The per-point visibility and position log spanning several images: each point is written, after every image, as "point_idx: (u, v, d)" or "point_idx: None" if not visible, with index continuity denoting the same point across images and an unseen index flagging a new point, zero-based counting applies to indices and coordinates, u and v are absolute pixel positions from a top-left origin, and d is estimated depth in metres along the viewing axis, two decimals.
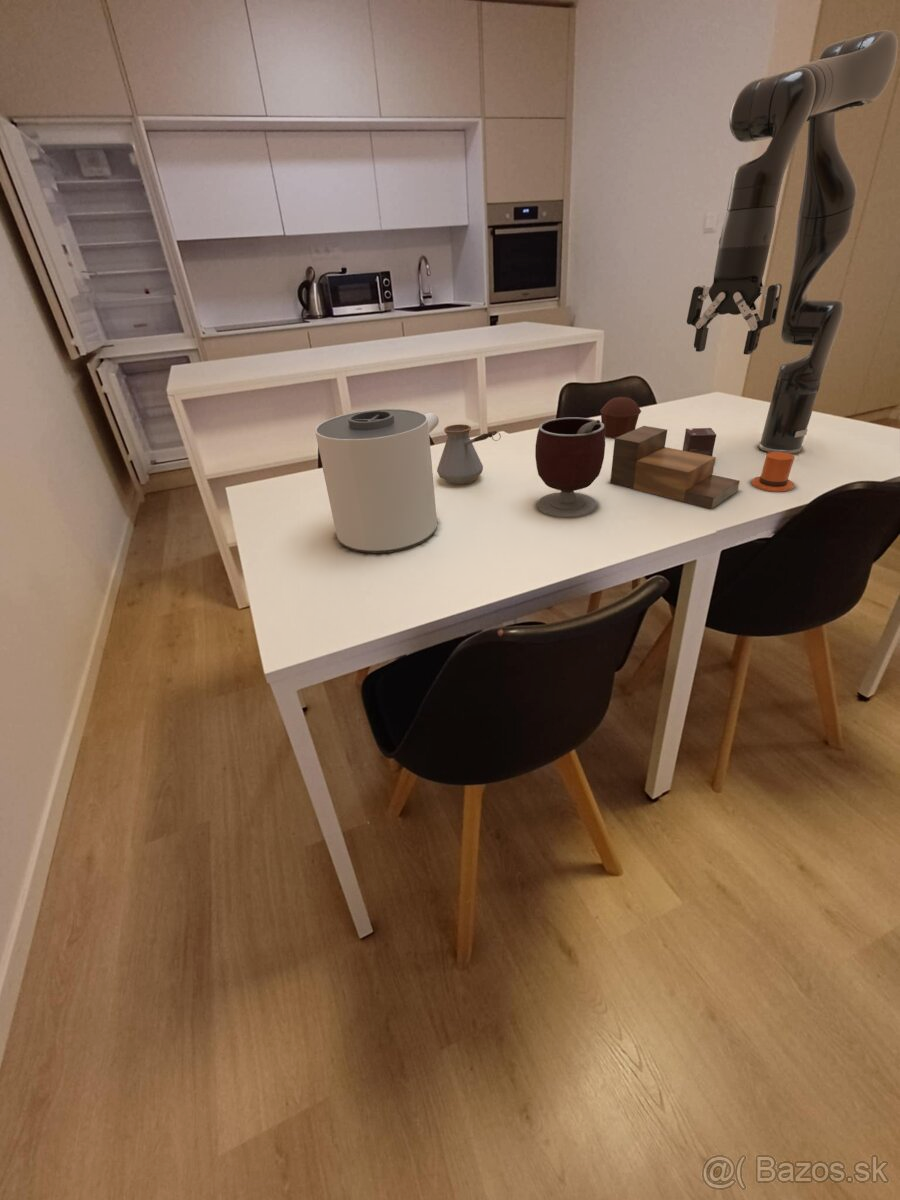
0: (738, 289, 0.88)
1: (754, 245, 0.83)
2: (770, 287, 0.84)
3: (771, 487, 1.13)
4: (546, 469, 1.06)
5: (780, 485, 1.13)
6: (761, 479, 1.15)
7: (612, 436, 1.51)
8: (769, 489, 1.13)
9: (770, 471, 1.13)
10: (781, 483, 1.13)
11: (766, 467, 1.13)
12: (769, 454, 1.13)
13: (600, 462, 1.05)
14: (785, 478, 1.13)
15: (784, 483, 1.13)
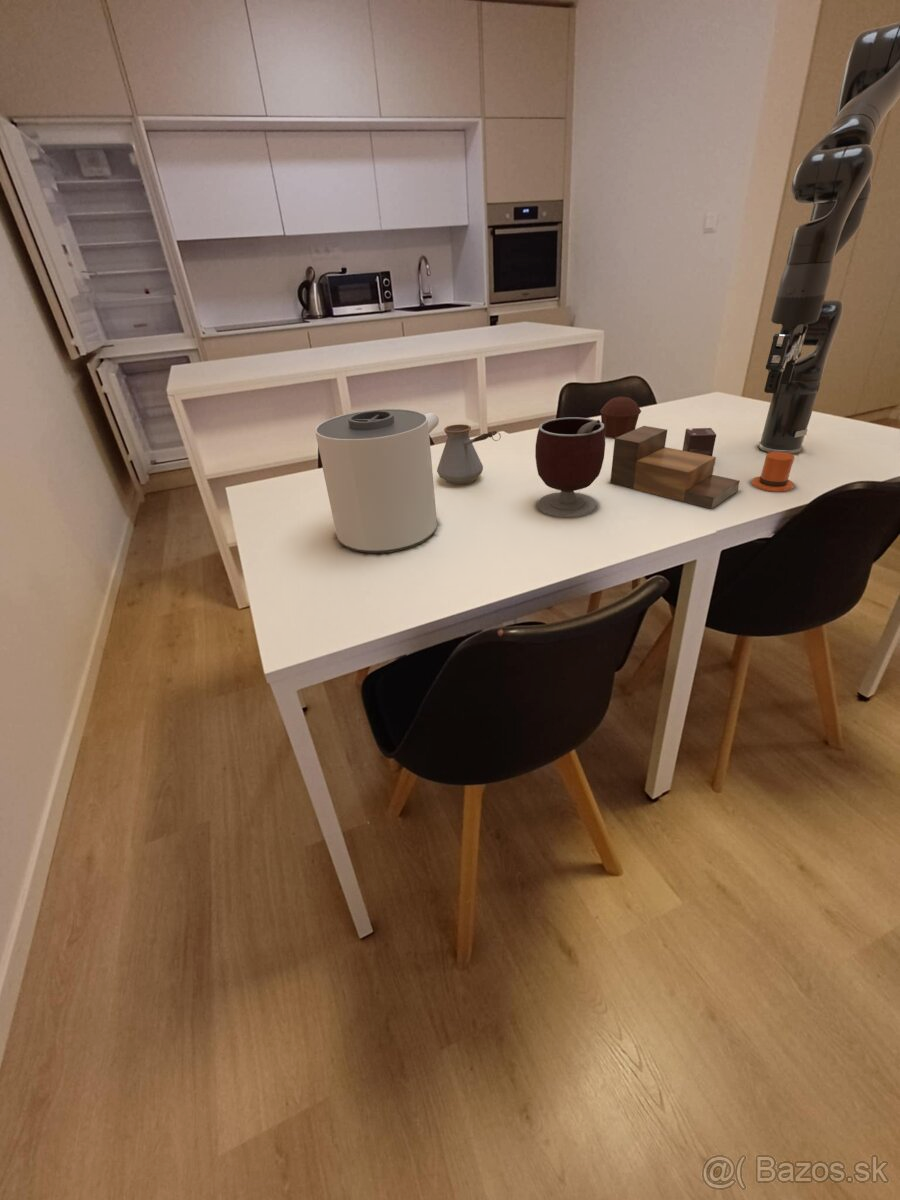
0: None
1: (781, 296, 0.94)
2: None
3: (771, 487, 1.13)
4: (546, 469, 1.06)
5: (780, 485, 1.13)
6: (761, 479, 1.15)
7: (612, 436, 1.51)
8: (769, 489, 1.13)
9: (770, 471, 1.13)
10: (781, 483, 1.13)
11: (766, 467, 1.13)
12: (769, 454, 1.13)
13: (600, 462, 1.05)
14: (785, 478, 1.13)
15: (784, 483, 1.13)
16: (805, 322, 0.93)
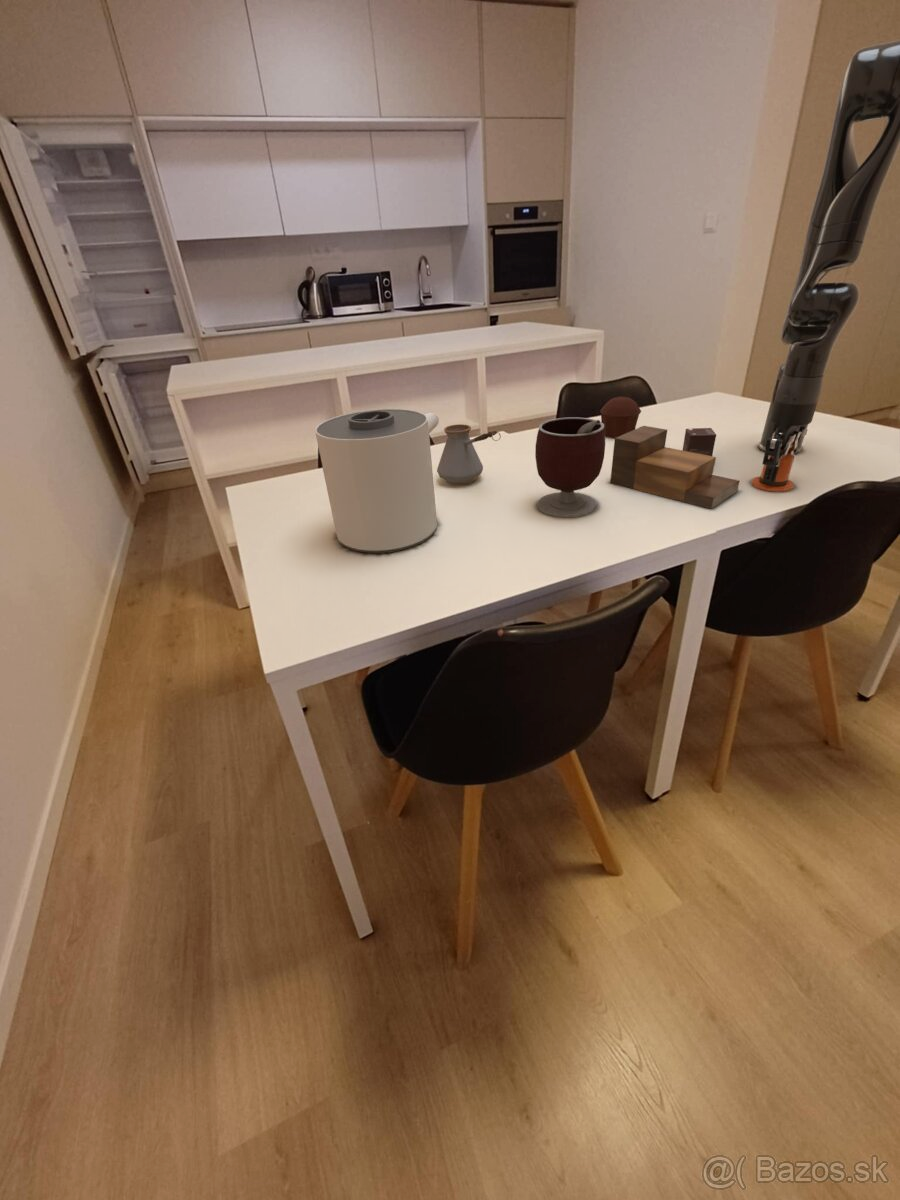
0: None
1: (777, 400, 1.06)
2: (768, 438, 1.07)
3: (771, 487, 1.13)
4: (546, 469, 1.06)
5: (780, 485, 1.13)
6: (761, 479, 1.15)
7: (612, 436, 1.51)
8: (769, 489, 1.13)
9: None
10: (781, 483, 1.13)
11: None
12: None
13: (600, 462, 1.05)
14: (785, 478, 1.13)
15: (784, 483, 1.13)
16: (797, 425, 1.05)
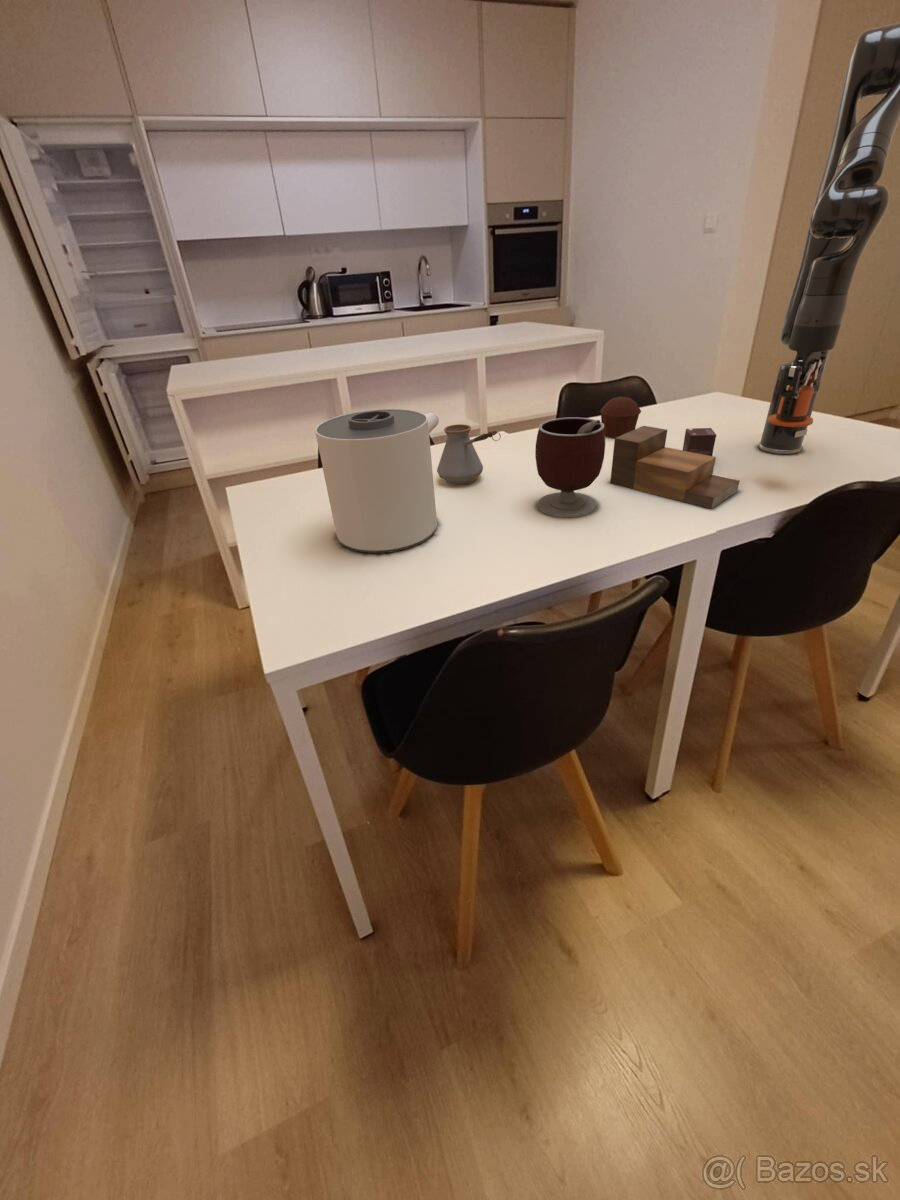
0: None
1: (796, 325, 0.99)
2: None
3: (789, 422, 1.06)
4: (546, 469, 1.06)
5: (799, 420, 1.06)
6: (778, 415, 1.08)
7: (612, 436, 1.51)
8: (787, 424, 1.06)
9: None
10: (800, 417, 1.05)
11: (783, 400, 1.06)
12: None
13: (600, 462, 1.05)
14: (804, 412, 1.05)
15: (803, 418, 1.06)
16: (819, 350, 0.98)
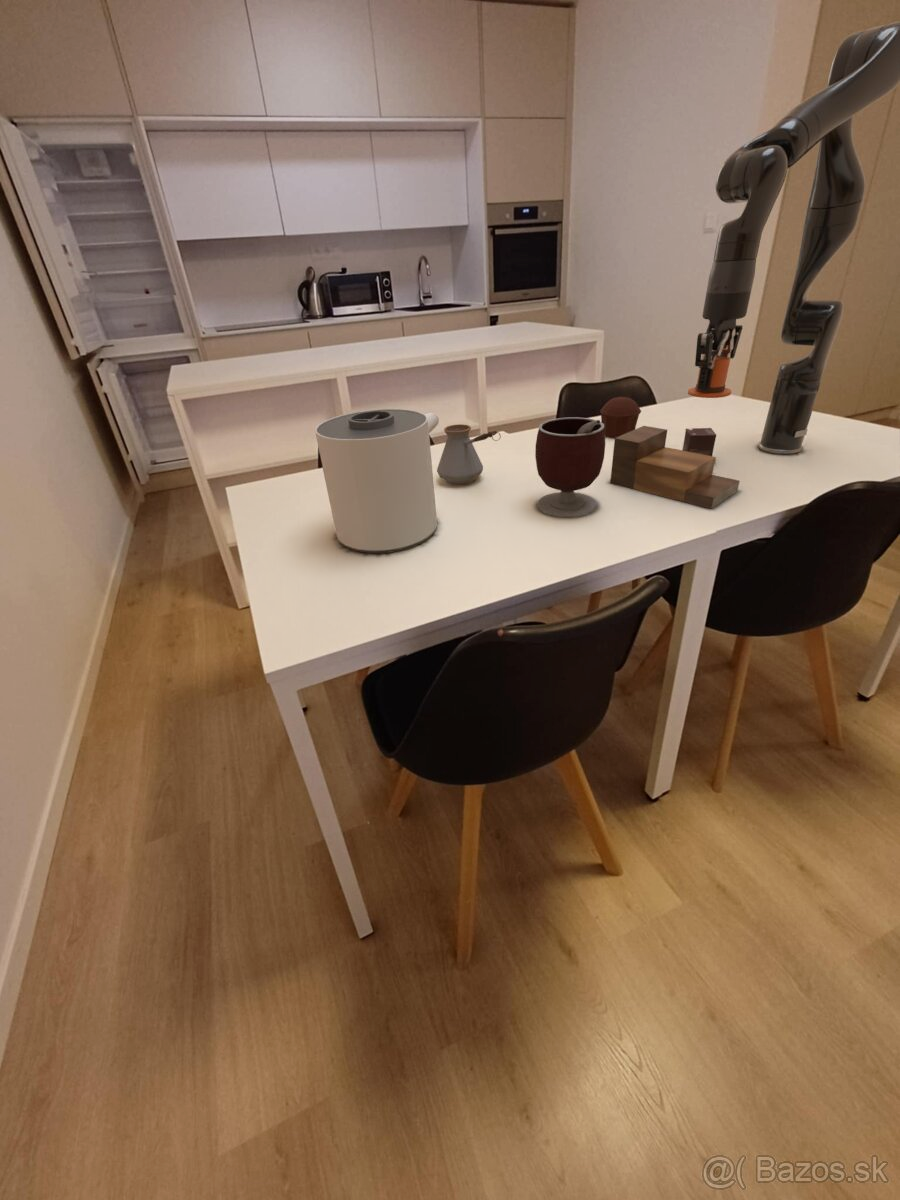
0: None
1: (708, 292, 0.97)
2: None
3: (706, 393, 1.04)
4: (546, 469, 1.06)
5: (716, 391, 1.04)
6: (697, 387, 1.06)
7: (612, 436, 1.51)
8: (704, 395, 1.04)
9: None
10: (717, 388, 1.04)
11: None
12: None
13: (600, 462, 1.05)
14: (721, 383, 1.04)
15: (720, 389, 1.04)
16: (730, 318, 0.96)
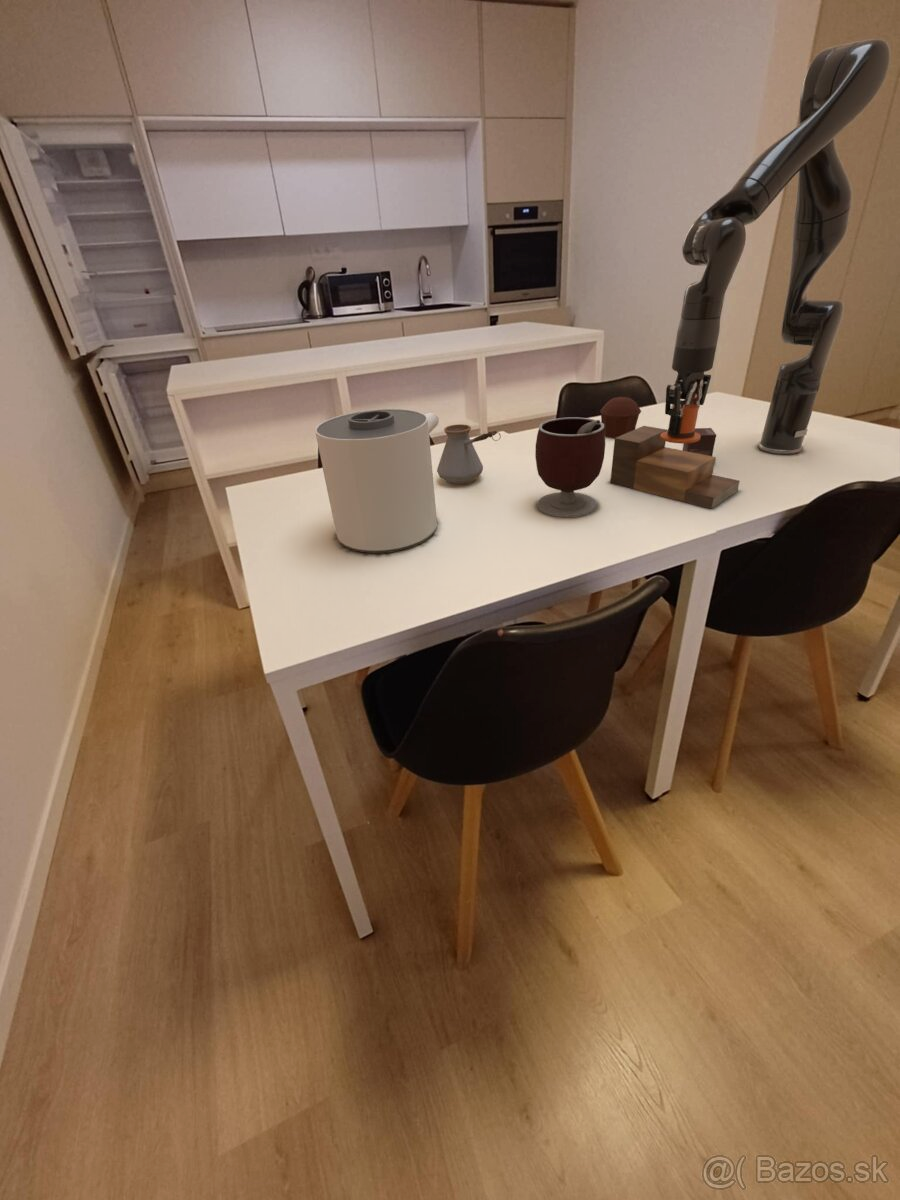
0: None
1: (676, 346, 1.03)
2: (668, 386, 1.04)
3: (677, 439, 1.10)
4: (546, 469, 1.06)
5: (686, 437, 1.10)
6: None
7: (612, 436, 1.51)
8: (674, 441, 1.10)
9: None
10: (687, 434, 1.10)
11: None
12: None
13: (600, 462, 1.05)
14: (690, 429, 1.09)
15: (690, 435, 1.10)
16: (696, 371, 1.02)
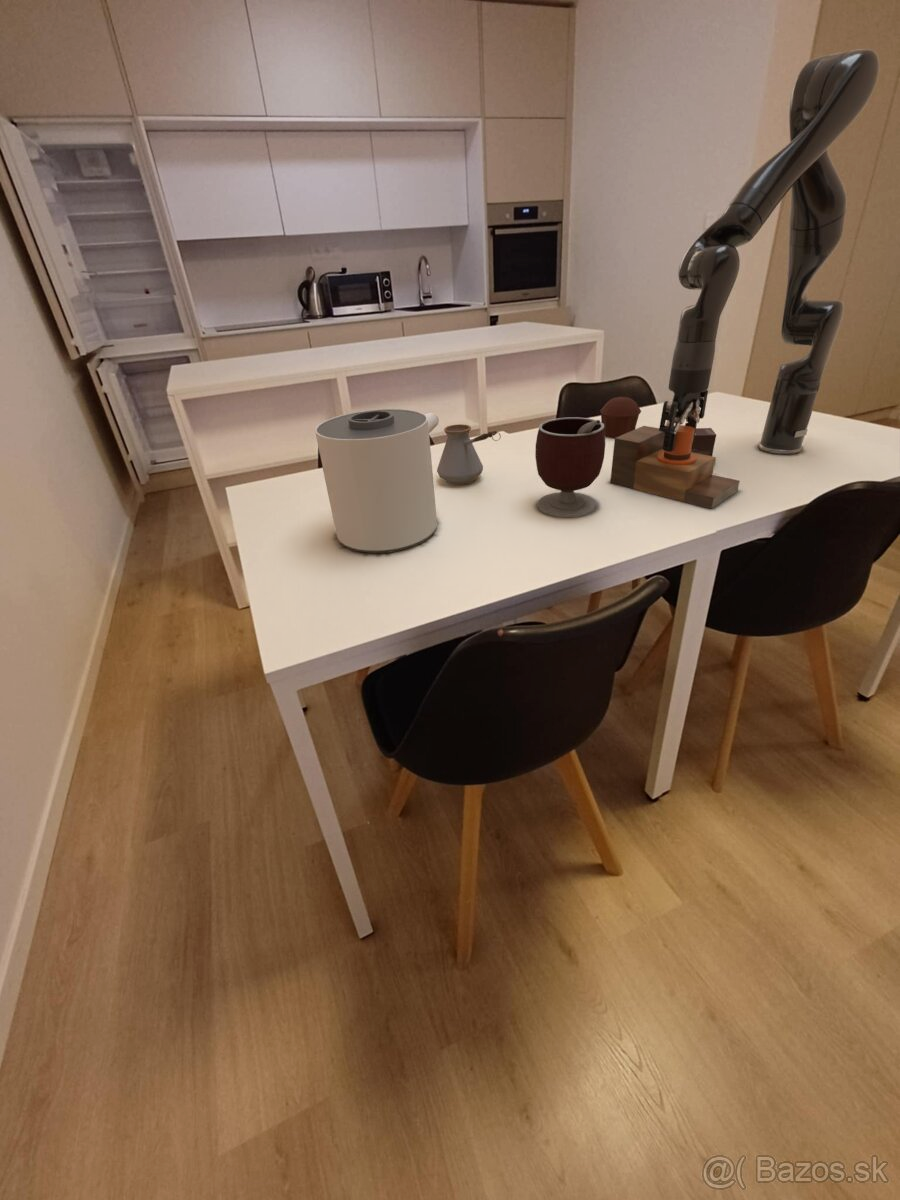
0: None
1: (672, 367, 1.05)
2: None
3: (673, 461, 1.13)
4: (546, 469, 1.06)
5: (682, 459, 1.12)
6: (664, 453, 1.14)
7: (612, 436, 1.51)
8: (671, 463, 1.12)
9: None
10: (683, 456, 1.12)
11: None
12: None
13: (600, 462, 1.05)
14: (686, 451, 1.12)
15: (686, 457, 1.12)
16: (692, 392, 1.04)
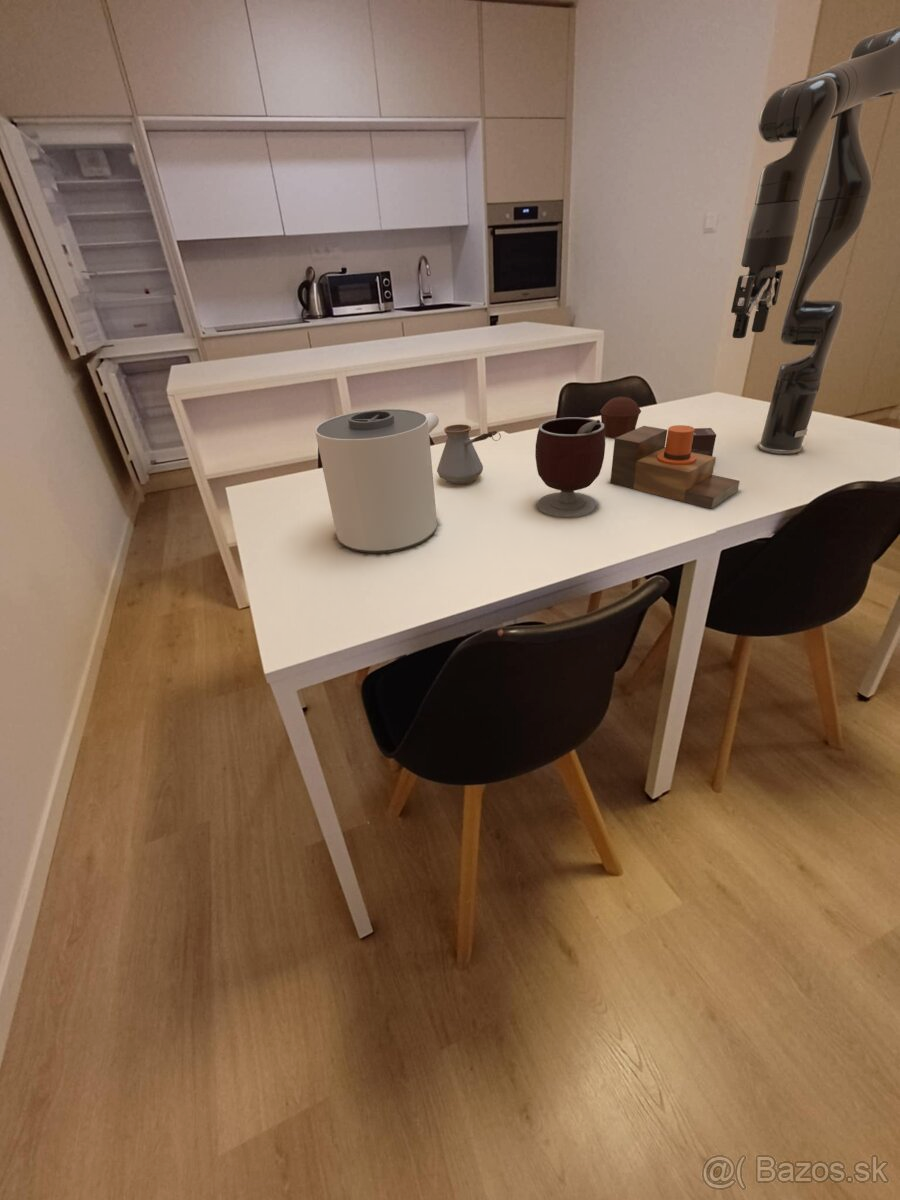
0: None
1: (748, 238, 0.95)
2: None
3: (673, 461, 1.13)
4: (546, 469, 1.06)
5: (682, 459, 1.12)
6: (664, 453, 1.14)
7: (612, 436, 1.51)
8: (671, 463, 1.12)
9: (671, 444, 1.12)
10: (683, 456, 1.12)
11: (668, 440, 1.12)
12: (671, 427, 1.12)
13: (600, 462, 1.05)
14: (686, 451, 1.12)
15: (686, 457, 1.12)
16: (771, 264, 0.94)
